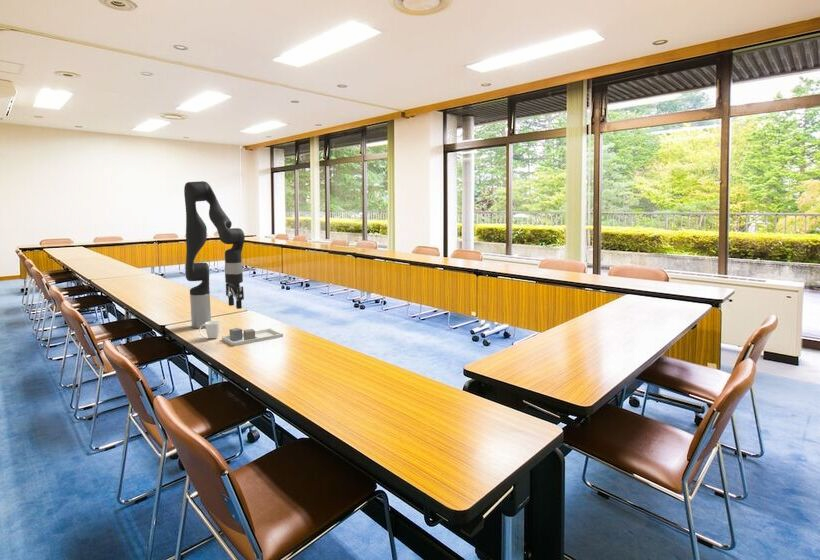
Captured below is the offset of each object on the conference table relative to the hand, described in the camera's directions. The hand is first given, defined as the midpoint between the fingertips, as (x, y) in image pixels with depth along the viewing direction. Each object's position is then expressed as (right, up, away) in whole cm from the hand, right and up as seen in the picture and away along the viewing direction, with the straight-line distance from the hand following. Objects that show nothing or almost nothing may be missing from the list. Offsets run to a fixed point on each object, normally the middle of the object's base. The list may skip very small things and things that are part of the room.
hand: (235, 307), depth 214 cm
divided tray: (+6, -16, +5) cm, 18 cm away
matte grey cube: (0, -15, +2) cm, 16 cm away
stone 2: (+6, -16, +1) cm, 17 cm away
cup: (-13, -16, +5) cm, 21 cm away
